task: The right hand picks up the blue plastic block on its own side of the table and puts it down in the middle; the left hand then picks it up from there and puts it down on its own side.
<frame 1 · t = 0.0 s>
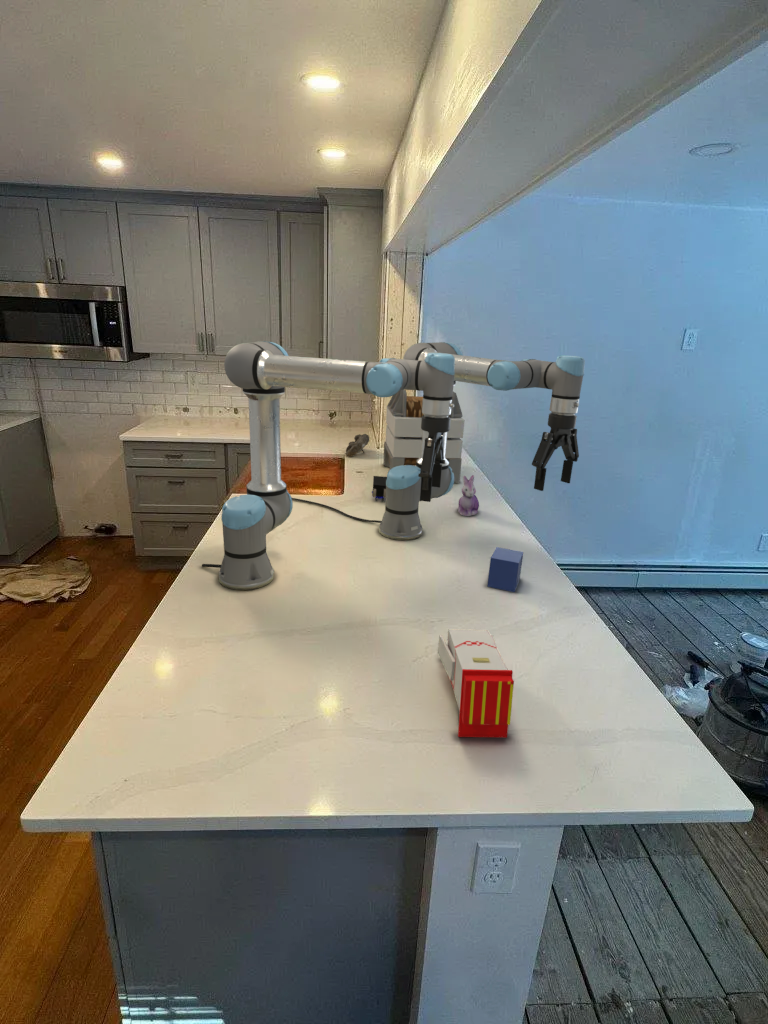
left hand: (430, 493, 154), 28 cm above the counter, tool pointing down, fingers open, 13 cm apart
right hand: (552, 485, 166), 28 cm above the counter, tool pointing down, fingers open, 13 cm apart
toy: (469, 691, 119), on the counter
block: (503, 583, 167), on the counter
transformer: (419, 473, 275), on the counter
figurine: (467, 512, 224), on the counter
figurine character: (379, 497, 237), on the counter
fossil: (357, 453, 307), on the counter
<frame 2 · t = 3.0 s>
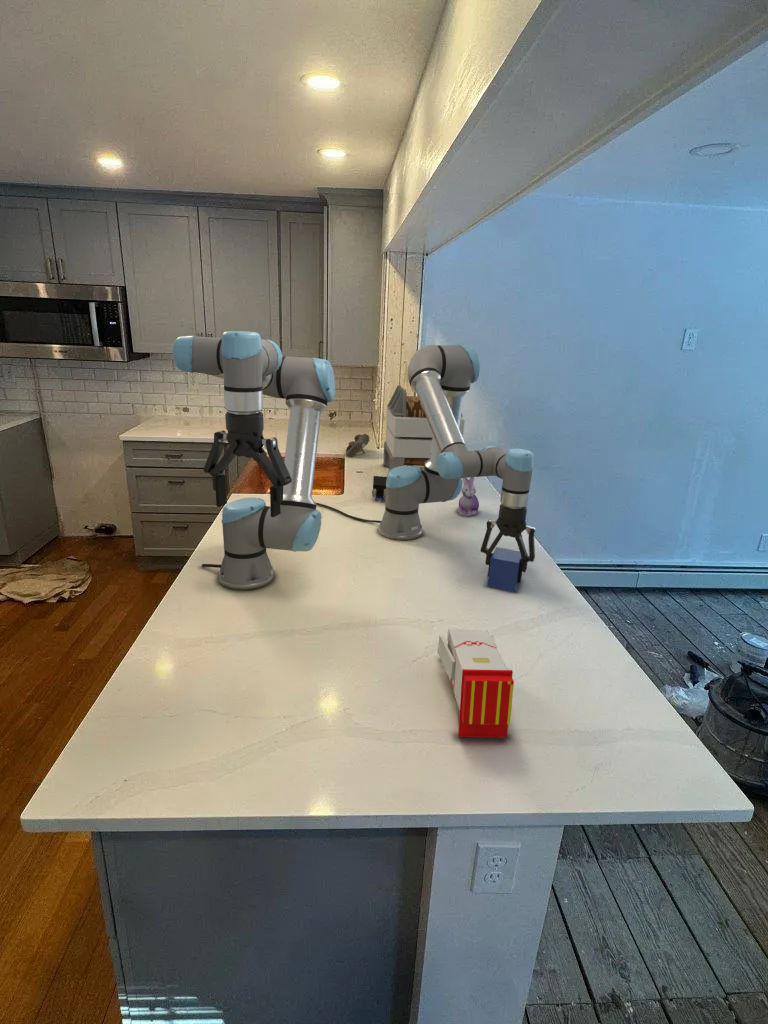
left hand: (248, 510, 122), 33 cm above the counter, tool pointing down, fingers open, 13 cm apart
right hand: (504, 577, 166), 2 cm above the counter, tool pointing down, fingers closed on block, 8 cm apart
block: (503, 583, 167), on the counter, touching right hand
everything else where it was.
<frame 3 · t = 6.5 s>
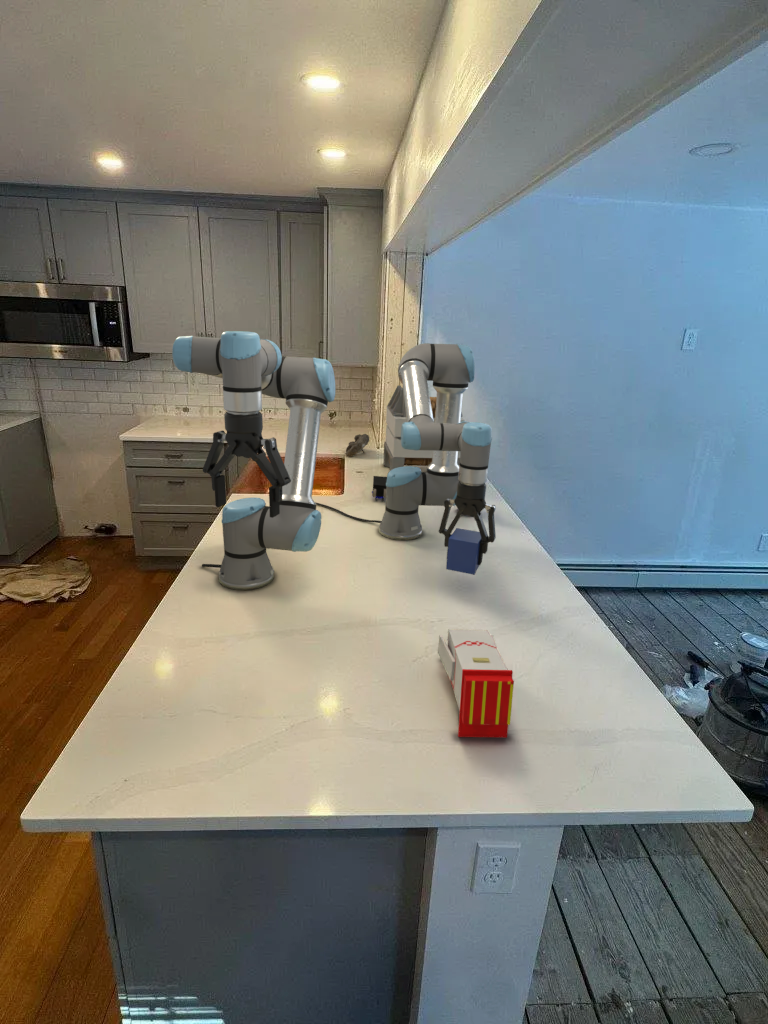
left hand: (247, 510, 122), 33 cm above the counter, tool pointing down, fingers open, 13 cm apart
right hand: (464, 560, 158), 10 cm above the counter, tool pointing down, fingers closed on block, 8 cm apart
block: (463, 566, 158), point 8 cm above the counter, touching right hand
everything else where it was.
when the right hand's fingers open (3 cm above the counter, at t = 10.2 s): block drops 1 cm, on the counter.
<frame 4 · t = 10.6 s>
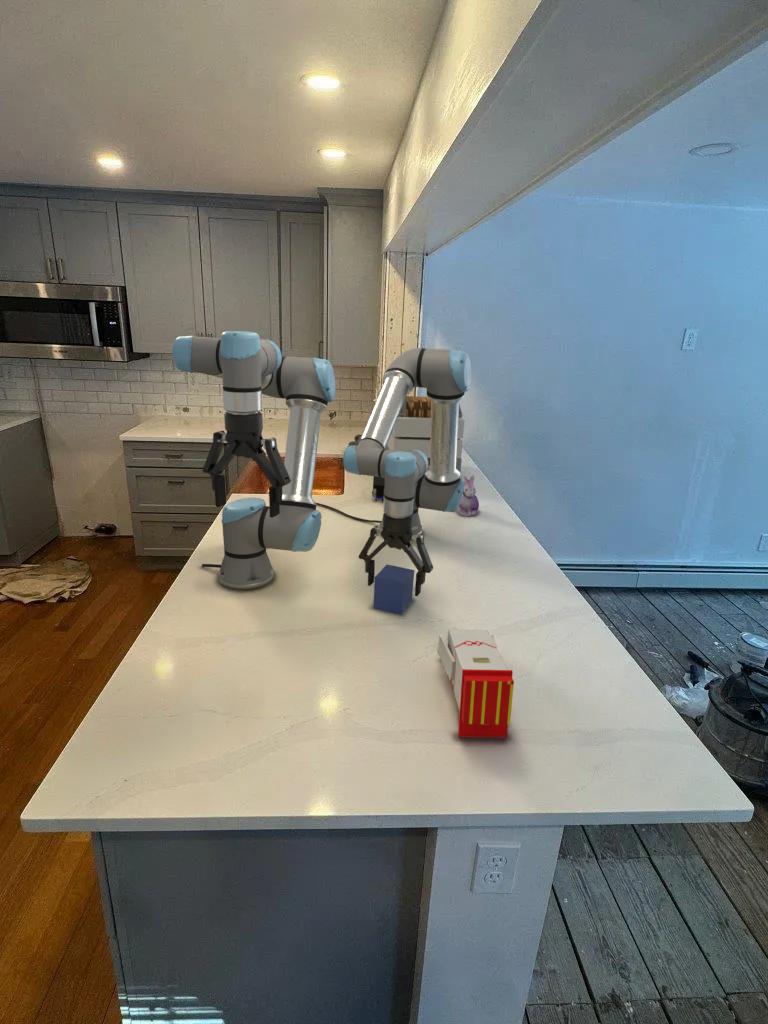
left hand: (247, 510, 122), 33 cm above the counter, tool pointing down, fingers open, 13 cm apart
right hand: (393, 589, 151), 5 cm above the counter, tool pointing down, fingers open, 13 cm apart
block: (393, 604, 152), on the counter
everything else where it was.
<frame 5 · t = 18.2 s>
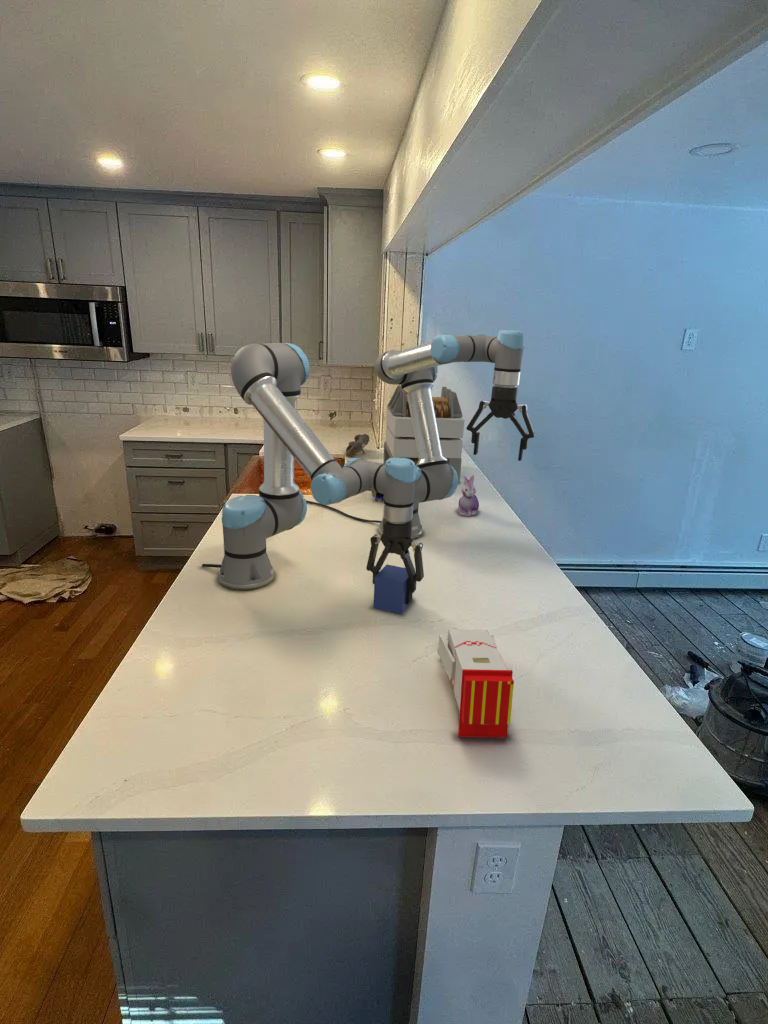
left hand: (393, 598, 152), 2 cm above the counter, tool pointing down, fingers closed on block, 8 cm apart
right hand: (497, 456, 172), 34 cm above the counter, tool pointing down, fingers open, 13 cm apart
block: (393, 604, 152), on the counter, touching left hand
everything else where it was.
when the left hand's fingers open (3 cm above the counter, at t = 27.7 s): block drops 1 cm, on the counter.
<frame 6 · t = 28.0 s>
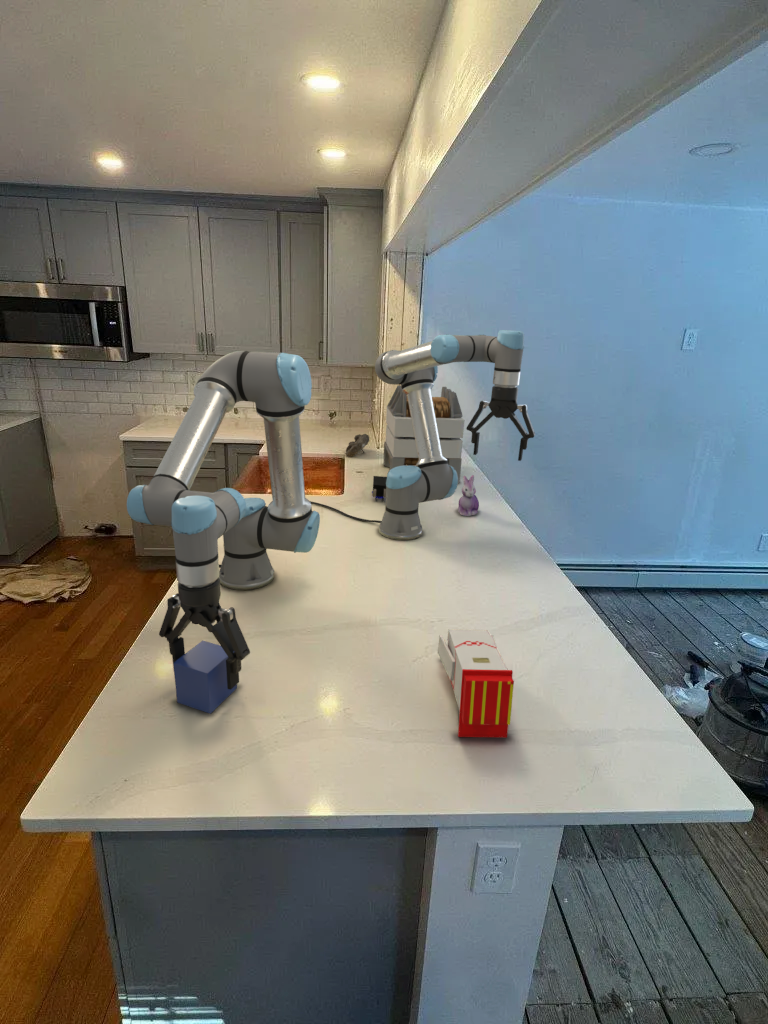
left hand: (206, 676, 112), 4 cm above the counter, tool pointing down, fingers open, 12 cm apart
right hand: (497, 456, 172), 34 cm above the counter, tool pointing down, fingers open, 13 cm apart
block: (207, 695, 114), on the counter
everything else where it was.
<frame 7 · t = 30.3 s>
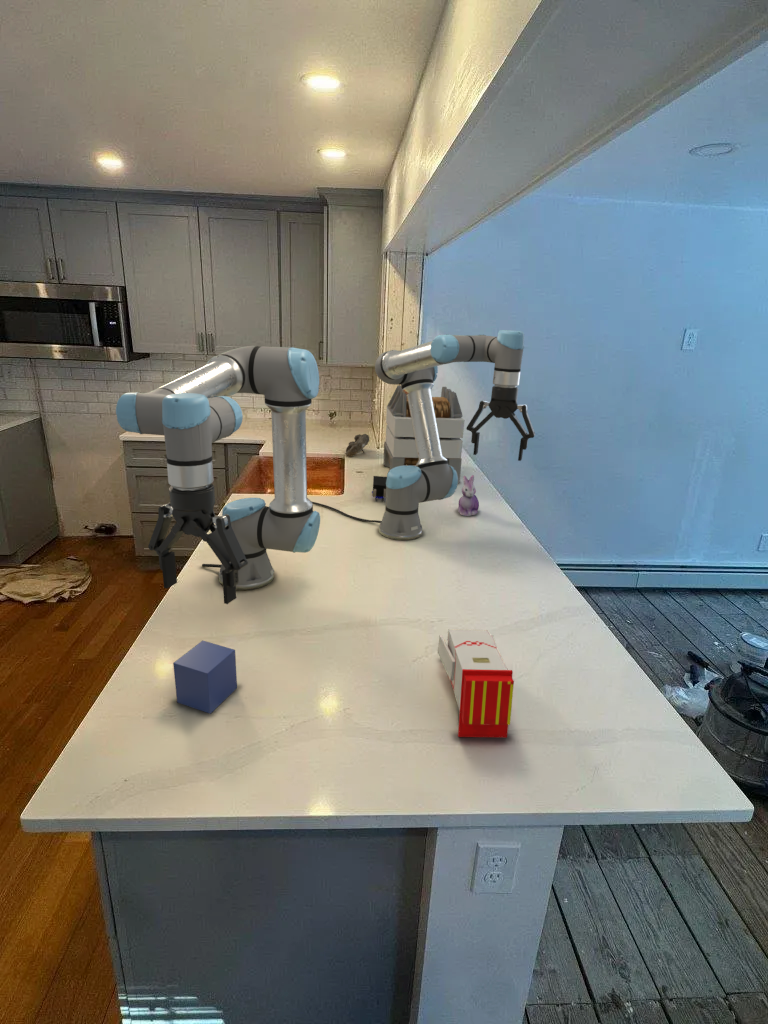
left hand: (199, 593, 106), 23 cm above the counter, tool pointing down, fingers open, 13 cm apart
right hand: (497, 456, 172), 34 cm above the counter, tool pointing down, fingers open, 13 cm apart
nothing on the counter moved.
at the end: block inside the target area (0.1 cm from its centre), on the counter; block tilted 0°; the two hands never held the block at the same time; the left hand is holding nothing; the right hand is holding nothing; block at rest at the end (0.0 cm/s) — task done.
